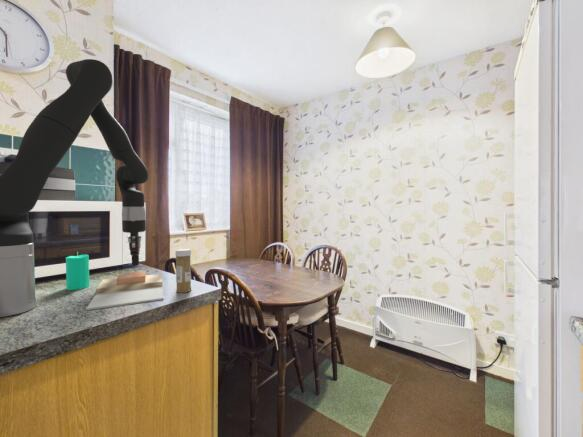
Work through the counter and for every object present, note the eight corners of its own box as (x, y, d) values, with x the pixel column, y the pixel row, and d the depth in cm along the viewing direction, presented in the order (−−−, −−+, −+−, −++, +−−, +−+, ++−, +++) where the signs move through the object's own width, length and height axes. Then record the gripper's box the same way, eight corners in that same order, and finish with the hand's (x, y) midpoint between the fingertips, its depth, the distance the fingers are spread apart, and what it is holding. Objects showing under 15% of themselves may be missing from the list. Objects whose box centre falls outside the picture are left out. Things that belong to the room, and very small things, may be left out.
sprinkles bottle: (192, 291, 83) (192, 249, 83) (177, 294, 81) (176, 251, 80) (189, 287, 87) (189, 247, 87) (174, 290, 85) (174, 249, 84)
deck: (96, 295, 79) (96, 289, 79) (103, 285, 90) (103, 279, 90) (162, 287, 87) (162, 281, 87) (161, 278, 98) (161, 273, 98)
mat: (86, 310, 68) (86, 308, 68) (96, 295, 79) (96, 293, 79) (163, 299, 76) (163, 297, 76) (162, 287, 87) (162, 286, 87)
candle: (92, 283, 91) (91, 249, 91) (85, 289, 85) (84, 252, 85) (71, 285, 89) (70, 250, 89) (62, 290, 84) (61, 253, 83)
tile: (116, 285, 83) (116, 278, 83) (119, 279, 90) (119, 273, 90) (145, 282, 87) (145, 276, 87) (146, 276, 94) (146, 270, 94)
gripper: (124, 218, 101) (125, 262, 102) (119, 220, 89) (121, 270, 90) (146, 218, 104) (147, 261, 105) (144, 219, 92) (146, 267, 93)
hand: (135, 265), depth 97 cm, fingers closed
